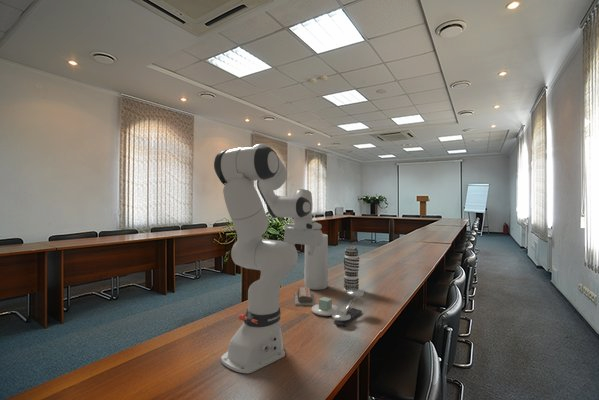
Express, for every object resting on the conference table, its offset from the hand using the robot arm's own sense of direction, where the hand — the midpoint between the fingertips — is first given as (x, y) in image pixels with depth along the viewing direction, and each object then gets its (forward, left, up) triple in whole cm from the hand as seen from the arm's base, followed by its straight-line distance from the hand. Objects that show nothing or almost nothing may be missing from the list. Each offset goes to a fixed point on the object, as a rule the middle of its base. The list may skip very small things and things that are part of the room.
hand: (302, 253), depth 135 cm
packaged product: (+16, +10, -28) cm, 34 cm away
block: (+8, -8, -26) cm, 29 cm away
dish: (+8, -8, -28) cm, 30 cm away
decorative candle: (+45, -4, -28) cm, 53 cm away
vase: (+38, +16, -28) cm, 50 cm away
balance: (+8, -20, -28) cm, 35 cm away
